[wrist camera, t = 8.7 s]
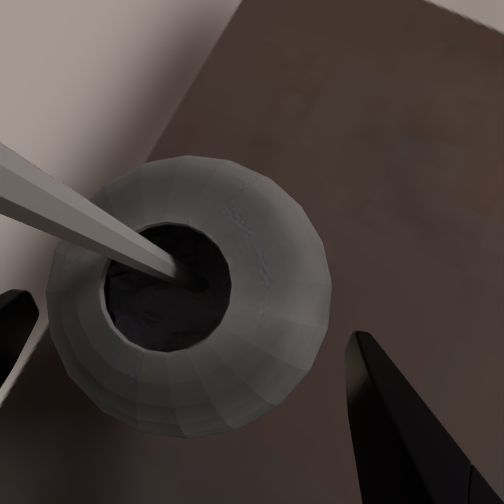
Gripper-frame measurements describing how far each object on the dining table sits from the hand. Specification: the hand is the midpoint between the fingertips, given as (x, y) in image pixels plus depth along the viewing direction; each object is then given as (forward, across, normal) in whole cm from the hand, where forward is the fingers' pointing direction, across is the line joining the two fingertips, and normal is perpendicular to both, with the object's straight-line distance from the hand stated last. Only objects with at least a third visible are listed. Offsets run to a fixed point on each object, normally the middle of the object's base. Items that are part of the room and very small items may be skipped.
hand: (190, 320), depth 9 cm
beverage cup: (+9, 0, +8) cm, 12 cm away
